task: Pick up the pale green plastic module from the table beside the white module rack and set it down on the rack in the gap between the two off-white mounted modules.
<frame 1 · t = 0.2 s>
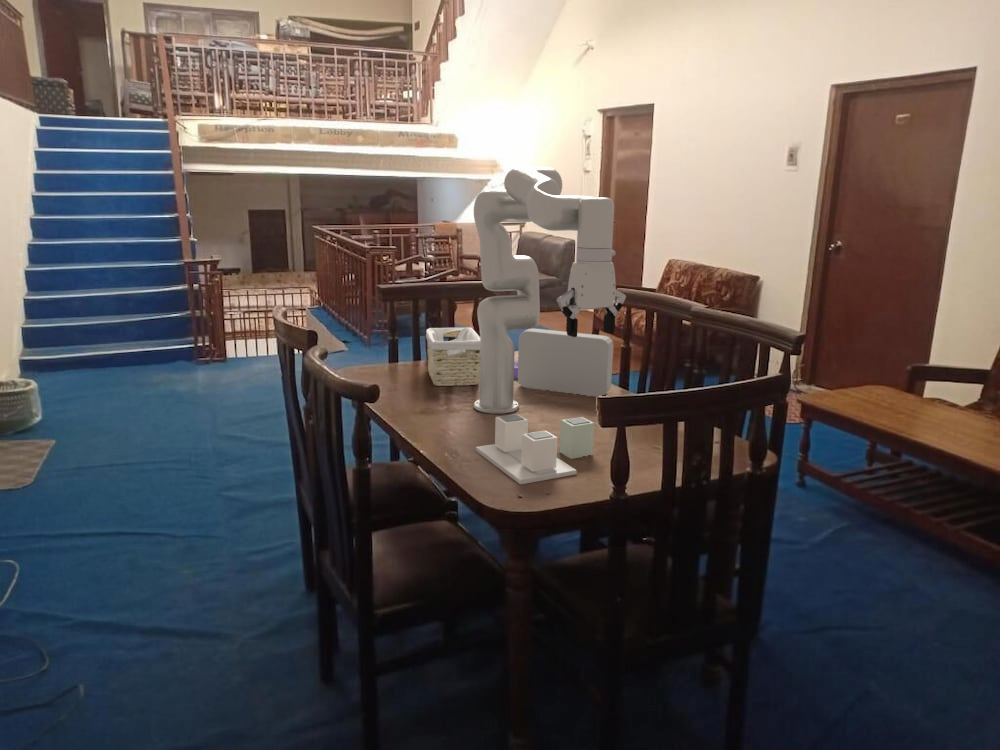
hand: (590, 334, 162), 30 cm above the table, tool pointing down, fingers open, 9 cm apart
white module rack: (524, 462, 168), on the table
rounded white slab: (563, 391, 227), on the table
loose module: (575, 453, 174), on the table
storage basket: (453, 378, 239), on the table
masking tape: (522, 375, 245), on the table
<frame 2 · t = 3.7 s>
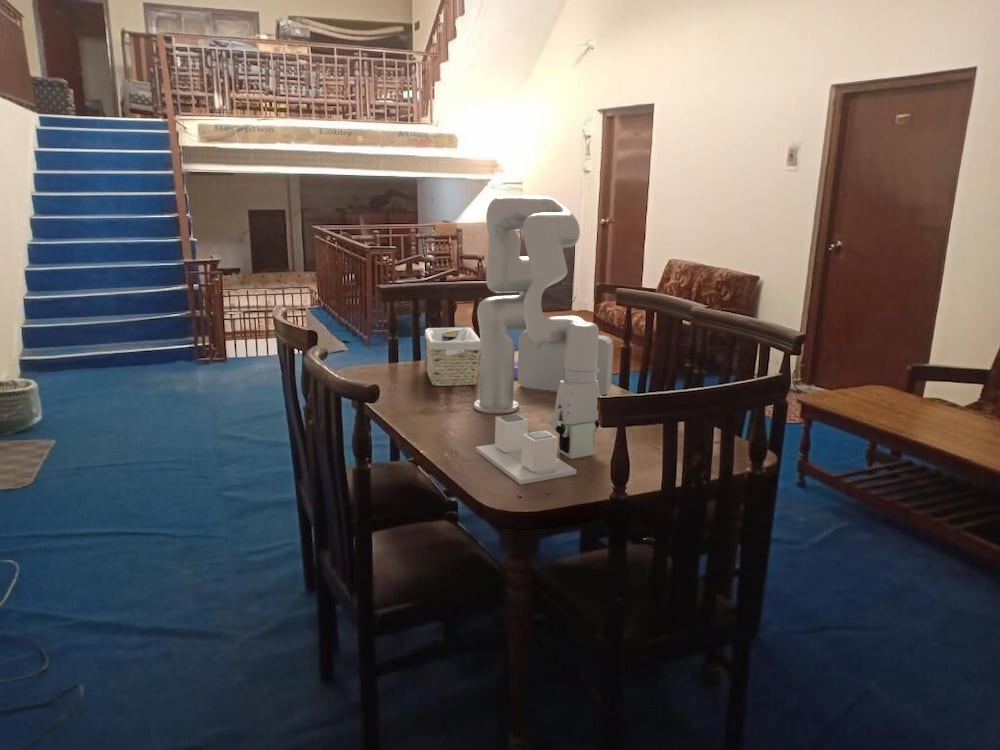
hand: (576, 448, 173), 1 cm above the table, tool pointing down, fingers closed on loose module, 6 cm apart
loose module: (576, 453, 174), on the table, touching gripper
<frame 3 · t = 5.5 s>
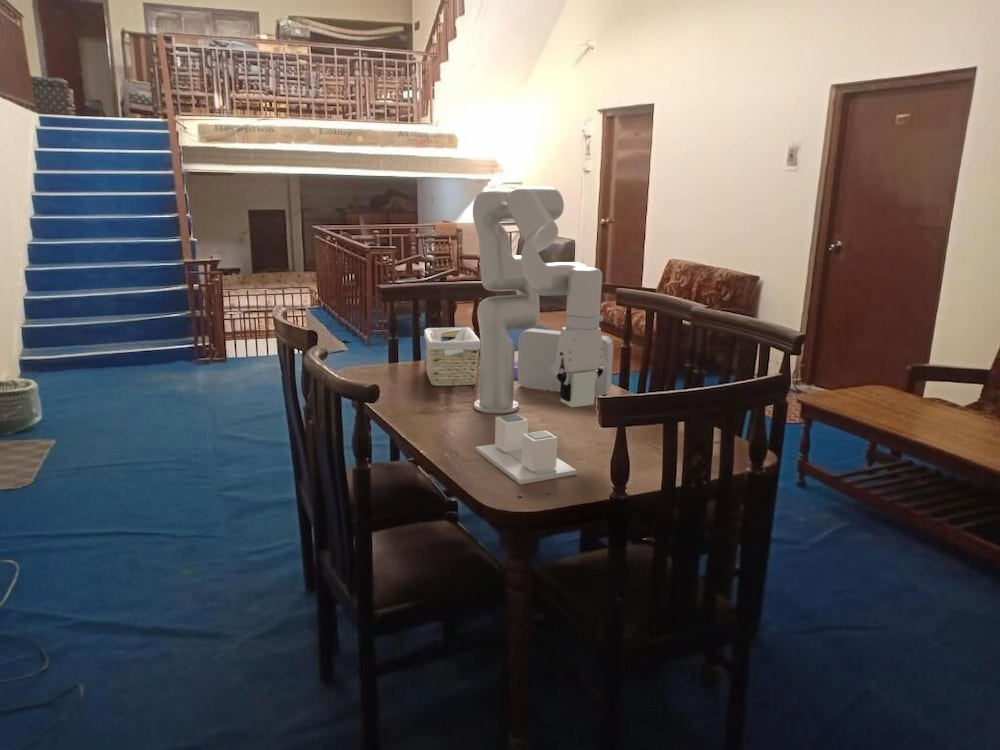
hand: (577, 397, 171), 14 cm above the table, tool pointing down, fingers closed on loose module, 6 cm apart
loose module: (577, 402, 171), point 12 cm above the table, touching gripper
everything else where it was.
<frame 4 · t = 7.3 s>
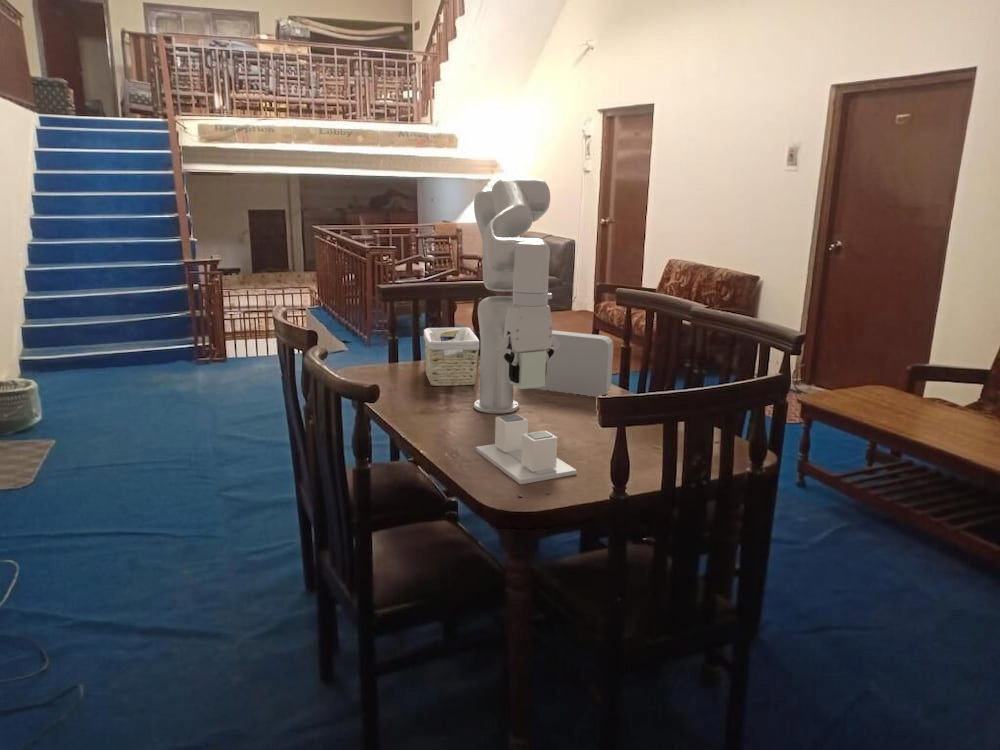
hand: (527, 379, 163), 20 cm above the table, tool pointing down, fingers closed on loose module, 6 cm apart
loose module: (527, 384, 163), point 18 cm above the table, touching gripper
everything else where it was.
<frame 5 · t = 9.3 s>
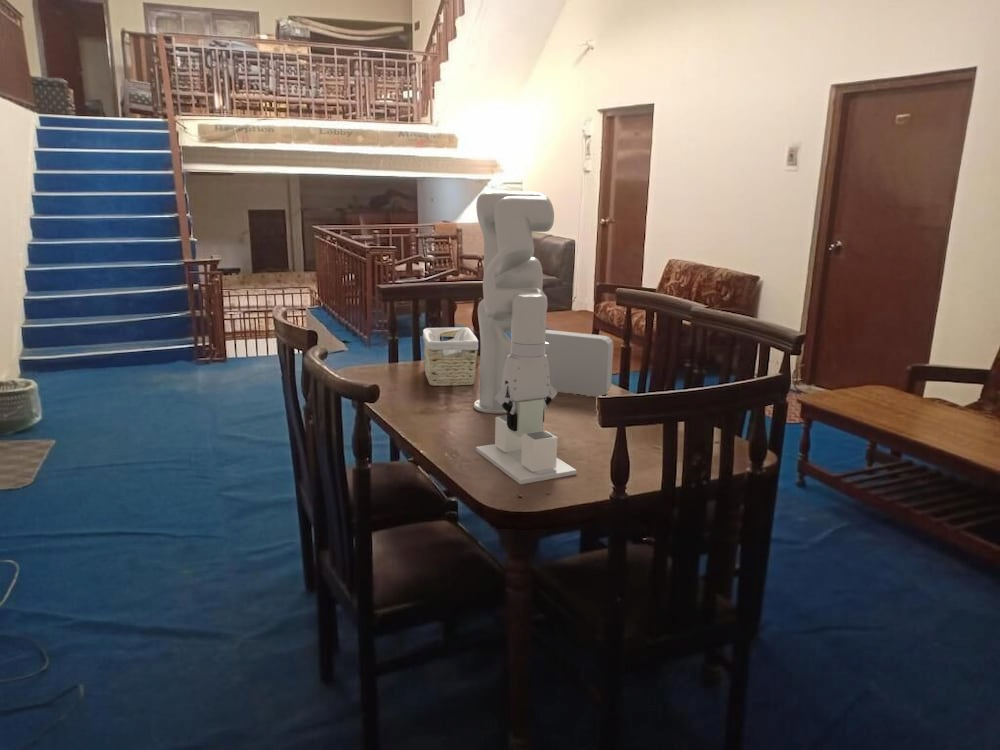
hand: (525, 427, 165), 9 cm above the table, tool pointing down, fingers closed on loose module, 6 cm apart
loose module: (525, 432, 165), point 7 cm above the table, touching gripper
when the fingers open (4 cm above the table, at t = 11.1 s): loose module drops 1 cm, resting on white module rack.
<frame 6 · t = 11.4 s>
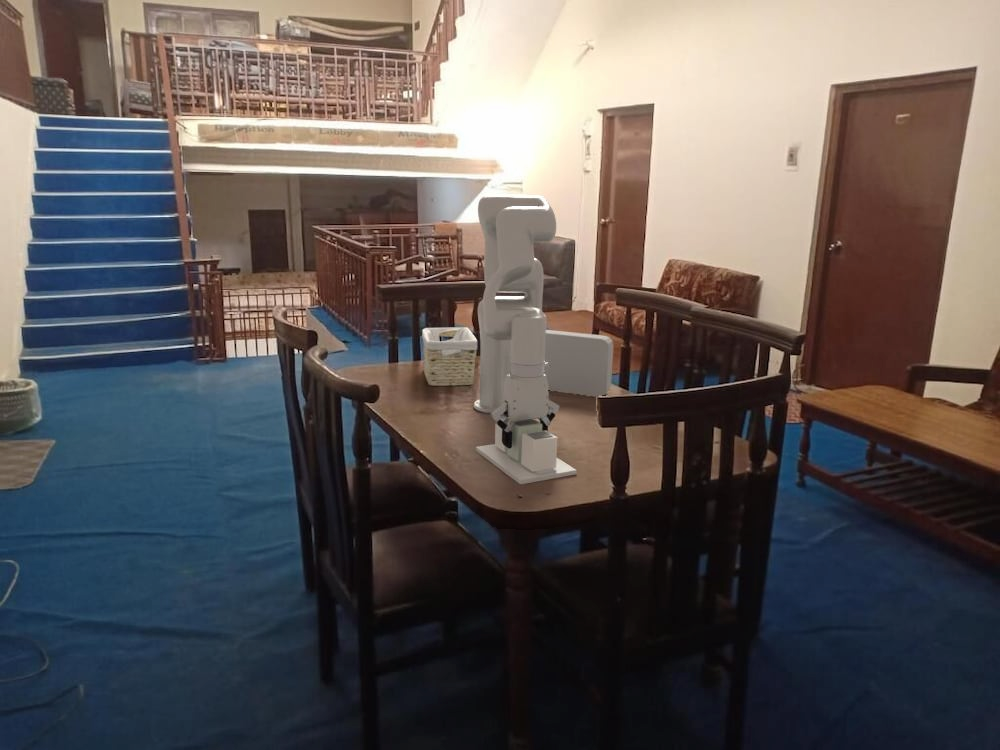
hand: (524, 443, 166), 4 cm above the table, tool pointing down, fingers open, 8 cm apart
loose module: (524, 455, 167), point 1 cm above the table, touching white module rack
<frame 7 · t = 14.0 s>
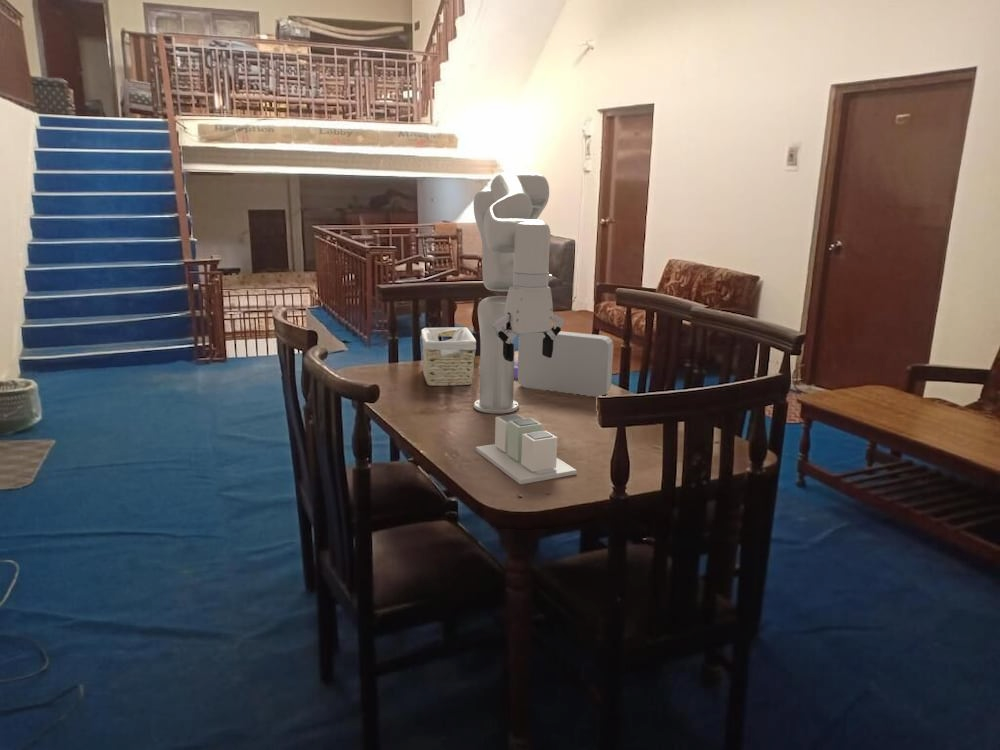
hand: (528, 358, 162), 24 cm above the table, tool pointing down, fingers open, 9 cm apart
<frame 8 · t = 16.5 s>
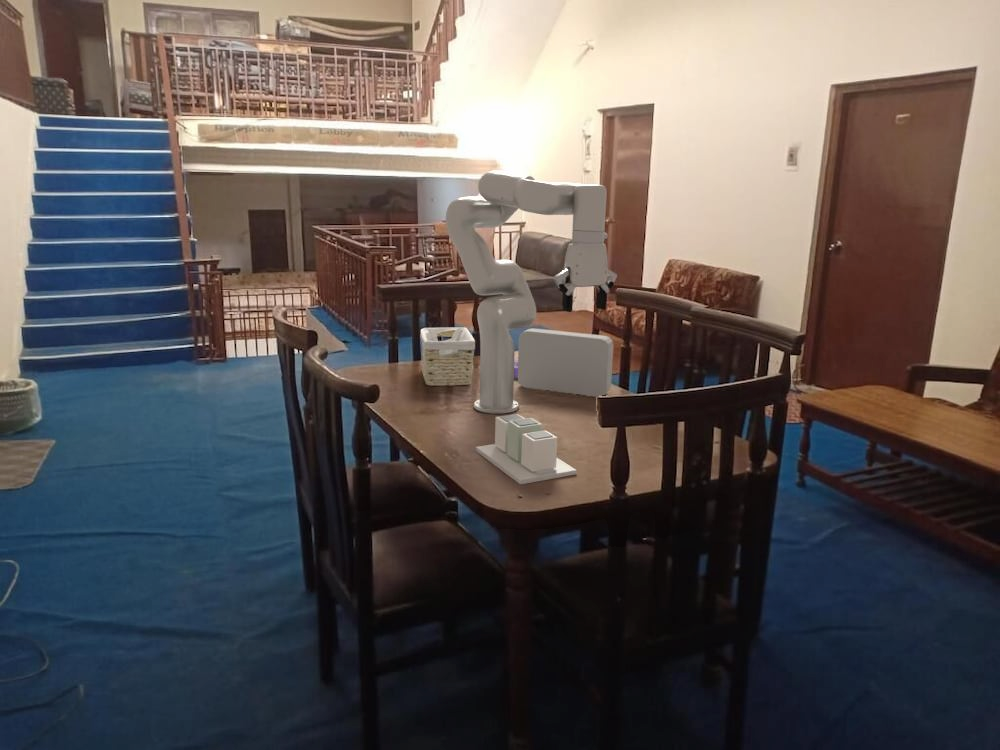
hand: (584, 310, 177), 32 cm above the table, tool pointing down, fingers open, 9 cm apart
at the end: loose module 0.0 cm off-centre on the white module rack, point 1.5 cm above the white module rack's base; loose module tilted 0°; the gripper is holding nothing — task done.
